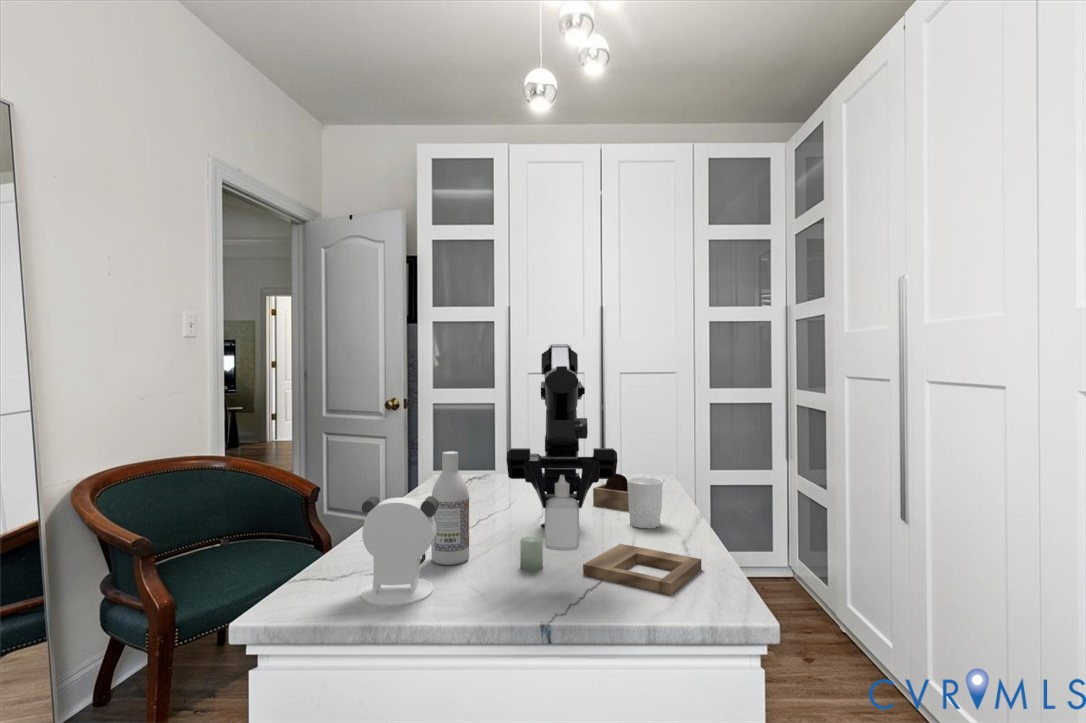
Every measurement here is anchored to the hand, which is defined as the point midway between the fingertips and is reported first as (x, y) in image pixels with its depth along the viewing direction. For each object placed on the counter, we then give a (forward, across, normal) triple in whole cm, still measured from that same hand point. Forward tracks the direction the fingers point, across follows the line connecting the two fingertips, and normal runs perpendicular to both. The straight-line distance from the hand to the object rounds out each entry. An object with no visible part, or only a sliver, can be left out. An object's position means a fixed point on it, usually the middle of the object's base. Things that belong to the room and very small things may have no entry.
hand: (562, 506), depth 97 cm
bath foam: (0, -21, +19) cm, 28 cm away
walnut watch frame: (-30, +16, +50) cm, 60 cm away
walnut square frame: (+4, +14, +15) cm, 21 cm away
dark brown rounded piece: (-30, +16, +50) cm, 61 cm away
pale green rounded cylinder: (+3, -5, +16) cm, 17 cm away
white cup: (-17, +19, +36) cm, 44 cm away
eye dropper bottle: (+4, 0, +6) cm, 7 cm away
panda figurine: (+11, -26, +8) cm, 29 cm away
